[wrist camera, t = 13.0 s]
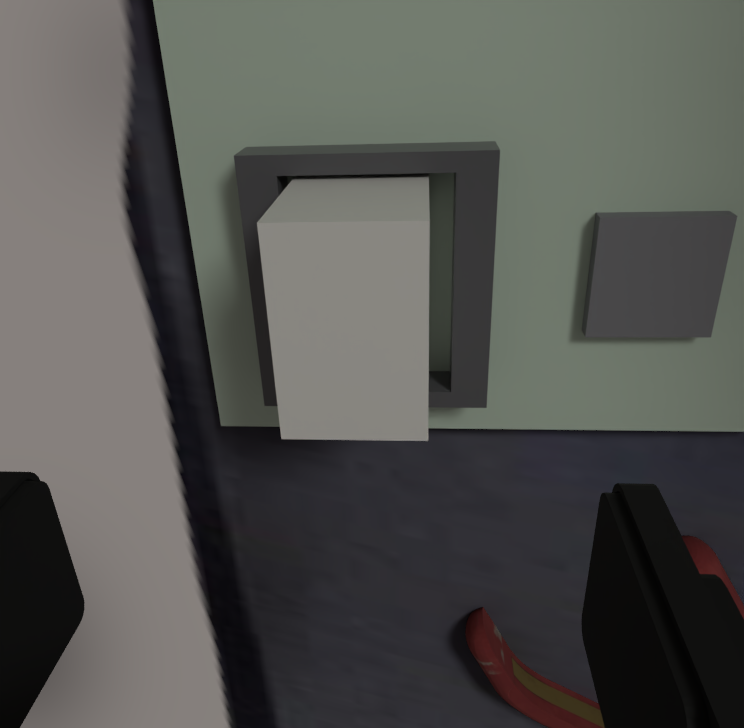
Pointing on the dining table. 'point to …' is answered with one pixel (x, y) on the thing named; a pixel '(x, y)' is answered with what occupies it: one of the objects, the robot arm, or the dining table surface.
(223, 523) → the dining table surface
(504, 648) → the pliers
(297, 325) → the plug
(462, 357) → the frame
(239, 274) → the board
